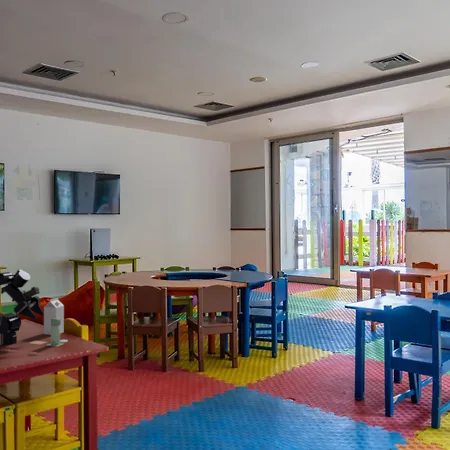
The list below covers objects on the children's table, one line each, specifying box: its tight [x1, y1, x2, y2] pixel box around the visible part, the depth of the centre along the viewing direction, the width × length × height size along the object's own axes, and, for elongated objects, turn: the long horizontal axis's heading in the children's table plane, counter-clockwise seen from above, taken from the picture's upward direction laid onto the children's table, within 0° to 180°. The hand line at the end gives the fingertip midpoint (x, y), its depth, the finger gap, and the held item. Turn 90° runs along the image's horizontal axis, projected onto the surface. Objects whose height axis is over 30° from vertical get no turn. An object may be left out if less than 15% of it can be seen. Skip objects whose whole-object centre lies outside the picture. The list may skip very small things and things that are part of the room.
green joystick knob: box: [50, 318, 61, 345], centre depth 229 cm, size 4×4×12 cm
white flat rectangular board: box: [27, 339, 68, 348], centre depth 233 cm, size 18×14×1 cm
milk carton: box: [43, 297, 65, 336], centre depth 253 cm, size 7×7×19 cm
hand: (39, 317), depth 231 cm, fingers open, 9 cm apart
